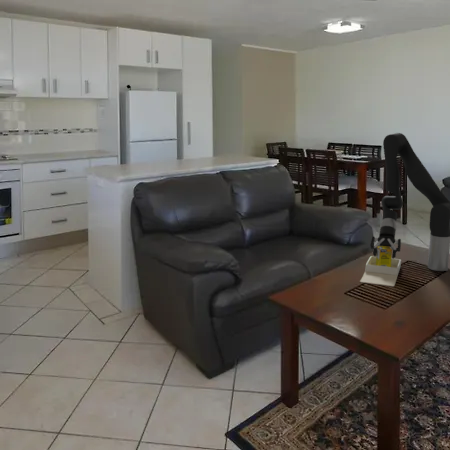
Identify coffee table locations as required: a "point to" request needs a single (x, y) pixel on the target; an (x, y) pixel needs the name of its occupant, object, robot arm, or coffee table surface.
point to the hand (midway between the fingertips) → (383, 256)
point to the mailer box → (381, 272)
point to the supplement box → (383, 256)
